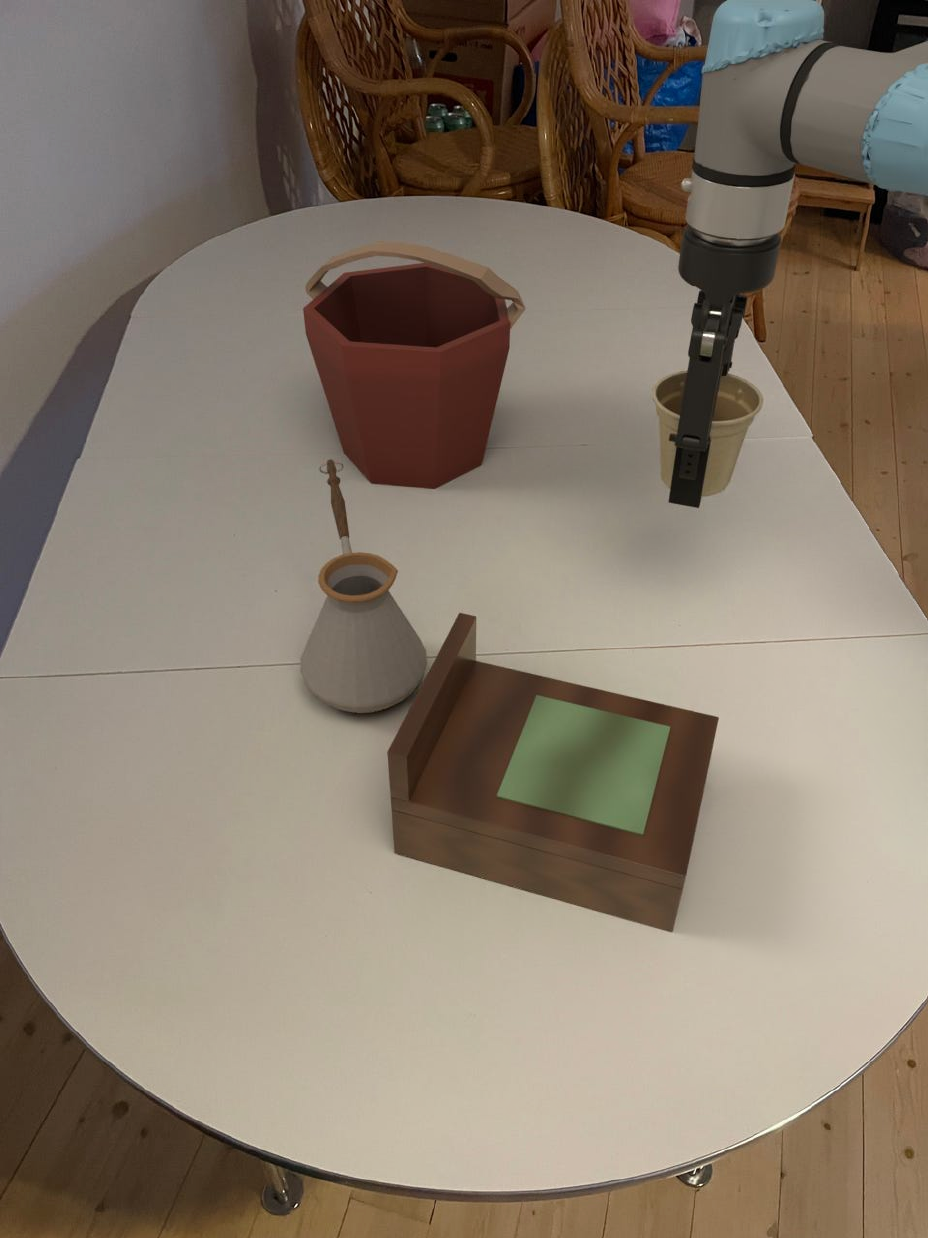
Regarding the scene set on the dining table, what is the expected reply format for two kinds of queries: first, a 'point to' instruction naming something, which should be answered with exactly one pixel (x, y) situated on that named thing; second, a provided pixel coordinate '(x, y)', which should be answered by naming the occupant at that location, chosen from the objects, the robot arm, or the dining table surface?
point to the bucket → (411, 360)
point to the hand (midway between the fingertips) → (692, 476)
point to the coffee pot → (360, 629)
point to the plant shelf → (549, 784)
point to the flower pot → (727, 428)
